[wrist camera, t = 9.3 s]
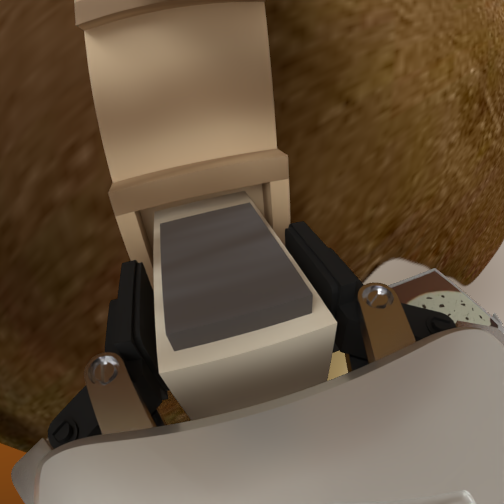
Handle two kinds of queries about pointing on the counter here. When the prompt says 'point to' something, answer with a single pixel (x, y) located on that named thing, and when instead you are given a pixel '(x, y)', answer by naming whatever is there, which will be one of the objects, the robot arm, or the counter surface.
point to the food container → (443, 298)
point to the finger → (233, 309)
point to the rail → (183, 109)
